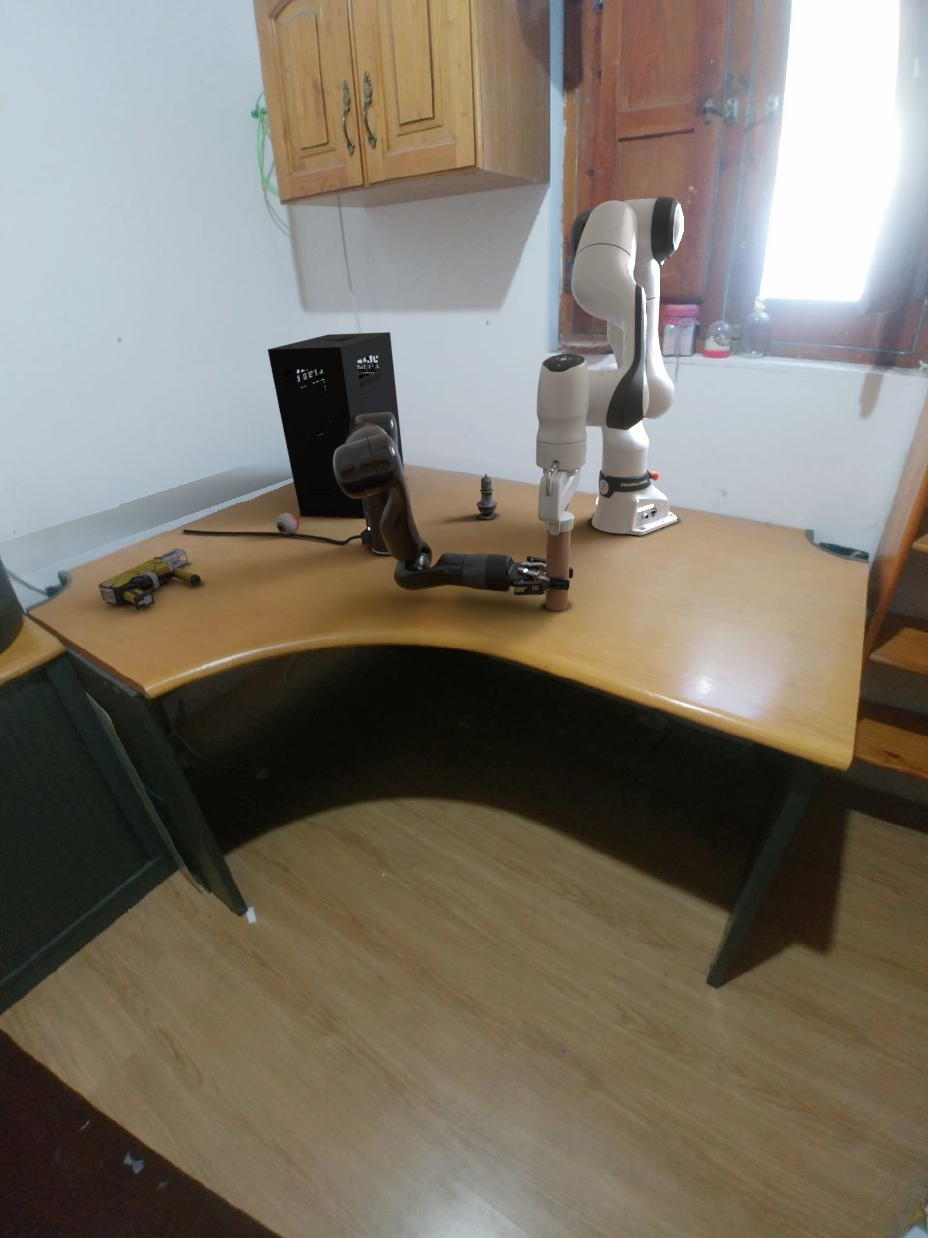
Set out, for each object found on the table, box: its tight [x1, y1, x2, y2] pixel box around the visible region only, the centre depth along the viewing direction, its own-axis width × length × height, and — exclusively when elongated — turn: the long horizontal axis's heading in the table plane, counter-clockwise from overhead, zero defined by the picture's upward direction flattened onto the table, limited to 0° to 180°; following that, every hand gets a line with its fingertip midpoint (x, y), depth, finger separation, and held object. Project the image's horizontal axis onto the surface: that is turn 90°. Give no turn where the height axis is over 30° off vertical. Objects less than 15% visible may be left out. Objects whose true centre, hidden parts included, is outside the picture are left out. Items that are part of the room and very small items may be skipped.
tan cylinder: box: [544, 530, 572, 612], centre depth 118 cm, size 4×4×19 cm
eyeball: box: [275, 511, 300, 534], centre depth 163 cm, size 6×6×6 cm
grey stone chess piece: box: [476, 473, 498, 520], centre depth 166 cm, size 6×6×12 cm
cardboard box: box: [267, 331, 405, 518], centre depth 180 cm, size 38×20×45 cm, turn 167°
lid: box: [543, 511, 575, 532], centre depth 114 cm, size 6×6×2 cm
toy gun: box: [98, 547, 202, 611], centre depth 139 cm, size 5×24×15 cm
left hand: (570, 578), depth 119 cm, fingers closed on tan cylinder, 4 cm apart
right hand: (558, 527), depth 115 cm, fingers closed on lid, 5 cm apart
